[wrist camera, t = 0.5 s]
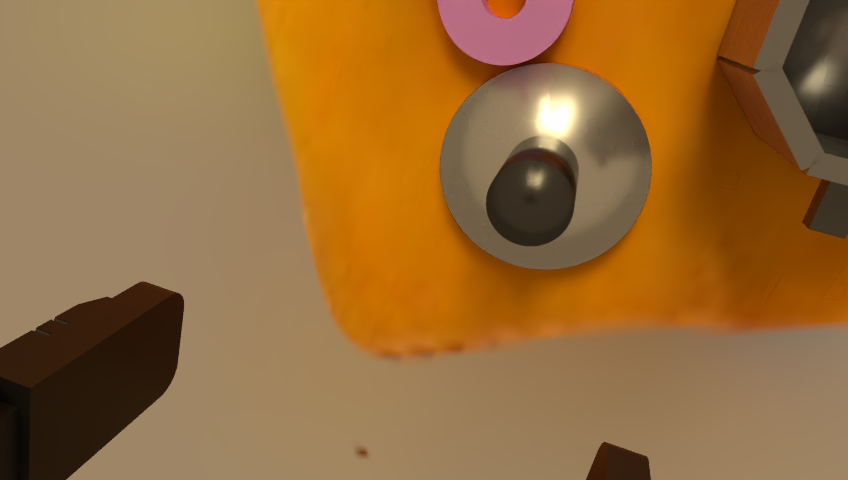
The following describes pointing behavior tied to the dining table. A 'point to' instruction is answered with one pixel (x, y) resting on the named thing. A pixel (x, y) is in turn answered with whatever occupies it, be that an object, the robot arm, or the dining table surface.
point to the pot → (796, 91)
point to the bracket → (504, 29)
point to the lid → (545, 166)
